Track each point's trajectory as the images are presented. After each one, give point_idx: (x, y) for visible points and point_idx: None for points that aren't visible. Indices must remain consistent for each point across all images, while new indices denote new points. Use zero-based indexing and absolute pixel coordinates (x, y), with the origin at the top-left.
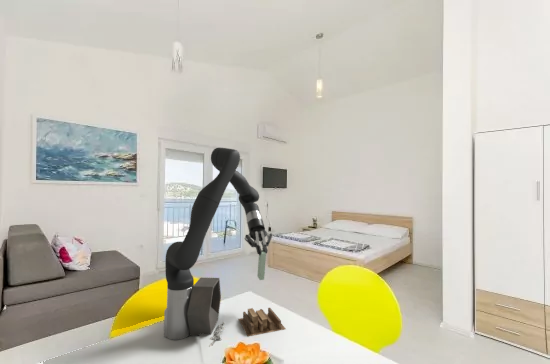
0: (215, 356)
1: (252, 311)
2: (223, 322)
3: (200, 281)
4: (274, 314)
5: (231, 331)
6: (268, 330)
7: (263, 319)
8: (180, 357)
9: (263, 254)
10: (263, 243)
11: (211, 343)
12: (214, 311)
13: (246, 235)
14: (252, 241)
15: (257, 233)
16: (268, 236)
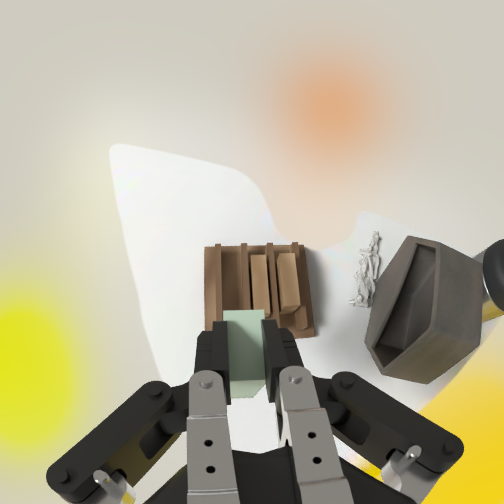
0: (363, 216)
1: (289, 283)
2: (360, 295)
3: (476, 300)
4: (219, 281)
5: (334, 291)
6: (249, 254)
7: (262, 255)
8: (414, 233)
9: (245, 314)
10: (223, 390)
11: (376, 240)
12: (394, 292)
13: (456, 441)
14: (366, 395)
15: (312, 498)
16: (112, 479)
